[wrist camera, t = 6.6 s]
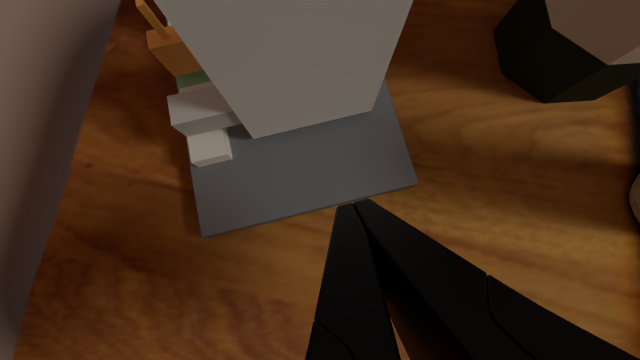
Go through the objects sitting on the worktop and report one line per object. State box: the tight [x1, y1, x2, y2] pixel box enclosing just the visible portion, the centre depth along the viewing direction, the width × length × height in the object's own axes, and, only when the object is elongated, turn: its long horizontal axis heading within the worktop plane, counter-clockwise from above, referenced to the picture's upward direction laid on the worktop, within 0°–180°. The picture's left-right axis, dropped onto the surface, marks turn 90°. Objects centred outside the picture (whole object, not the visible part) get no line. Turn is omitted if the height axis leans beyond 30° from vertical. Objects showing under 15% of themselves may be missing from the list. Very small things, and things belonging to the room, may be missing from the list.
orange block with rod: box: [135, 0, 203, 77], centre depth 14 cm, size 1×2×4 cm, turn 104°
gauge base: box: [166, 18, 418, 238], centre depth 13 cm, size 17×12×12 cm
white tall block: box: [154, 0, 413, 139], centre depth 12 cm, size 2×10×10 cm, turn 104°
